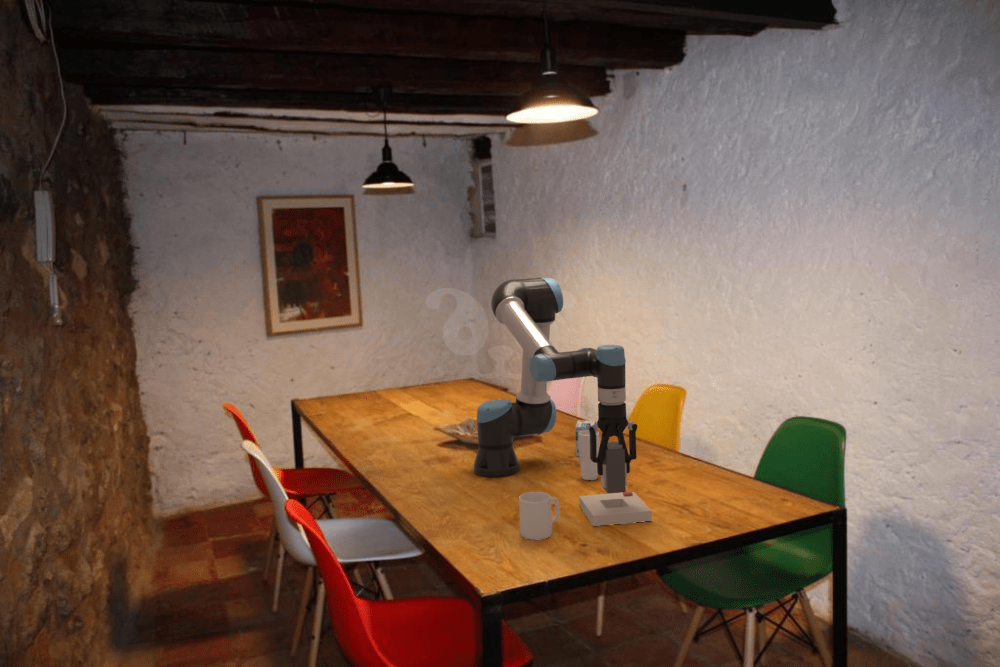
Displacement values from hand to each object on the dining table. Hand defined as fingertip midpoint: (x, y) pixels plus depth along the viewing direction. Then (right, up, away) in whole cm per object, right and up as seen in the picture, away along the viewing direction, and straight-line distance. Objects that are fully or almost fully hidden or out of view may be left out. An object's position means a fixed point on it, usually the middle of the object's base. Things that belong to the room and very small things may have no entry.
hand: (613, 485), depth 205 cm
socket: (0, -8, +1) cm, 8 cm away
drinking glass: (-3, -5, +33) cm, 33 cm away
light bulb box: (0, -1, +62) cm, 62 cm away
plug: (0, -1, 0) cm, 1 cm away
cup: (-20, -10, -10) cm, 25 cm away
